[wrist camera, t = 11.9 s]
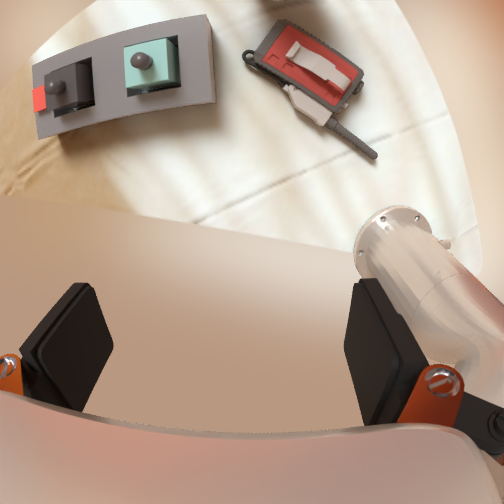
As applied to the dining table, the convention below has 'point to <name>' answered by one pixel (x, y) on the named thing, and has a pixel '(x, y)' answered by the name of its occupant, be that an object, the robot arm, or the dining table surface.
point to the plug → (152, 65)
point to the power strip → (120, 77)
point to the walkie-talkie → (310, 75)
